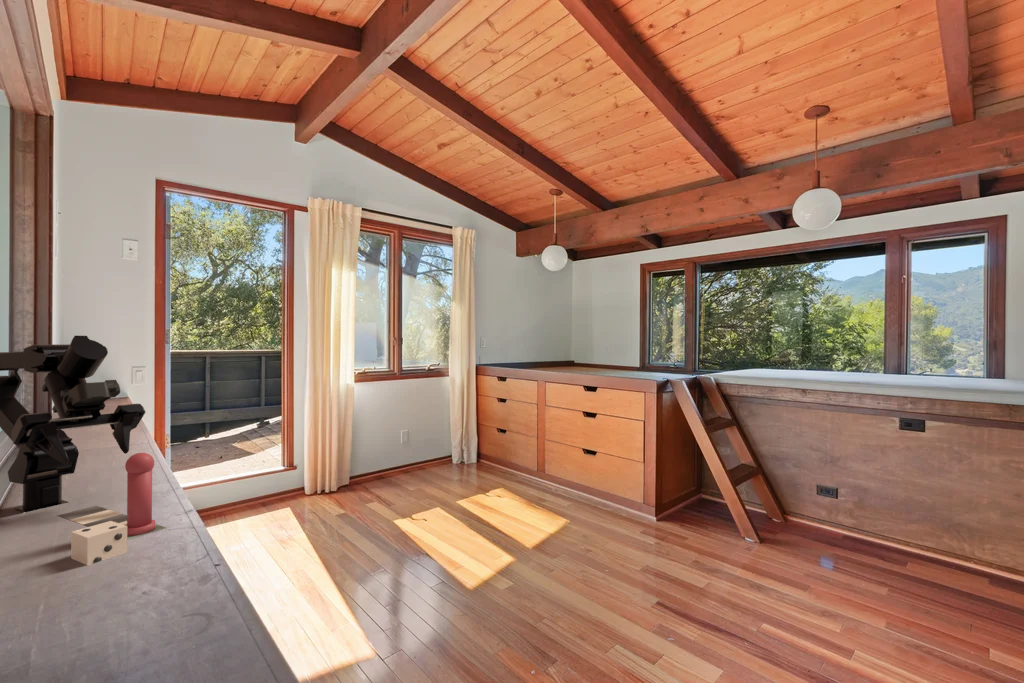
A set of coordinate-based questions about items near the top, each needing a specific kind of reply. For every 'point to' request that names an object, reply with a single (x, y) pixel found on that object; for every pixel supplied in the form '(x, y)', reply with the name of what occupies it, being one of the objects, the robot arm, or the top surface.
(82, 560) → the die
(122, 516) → the board
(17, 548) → the top surface
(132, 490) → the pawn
